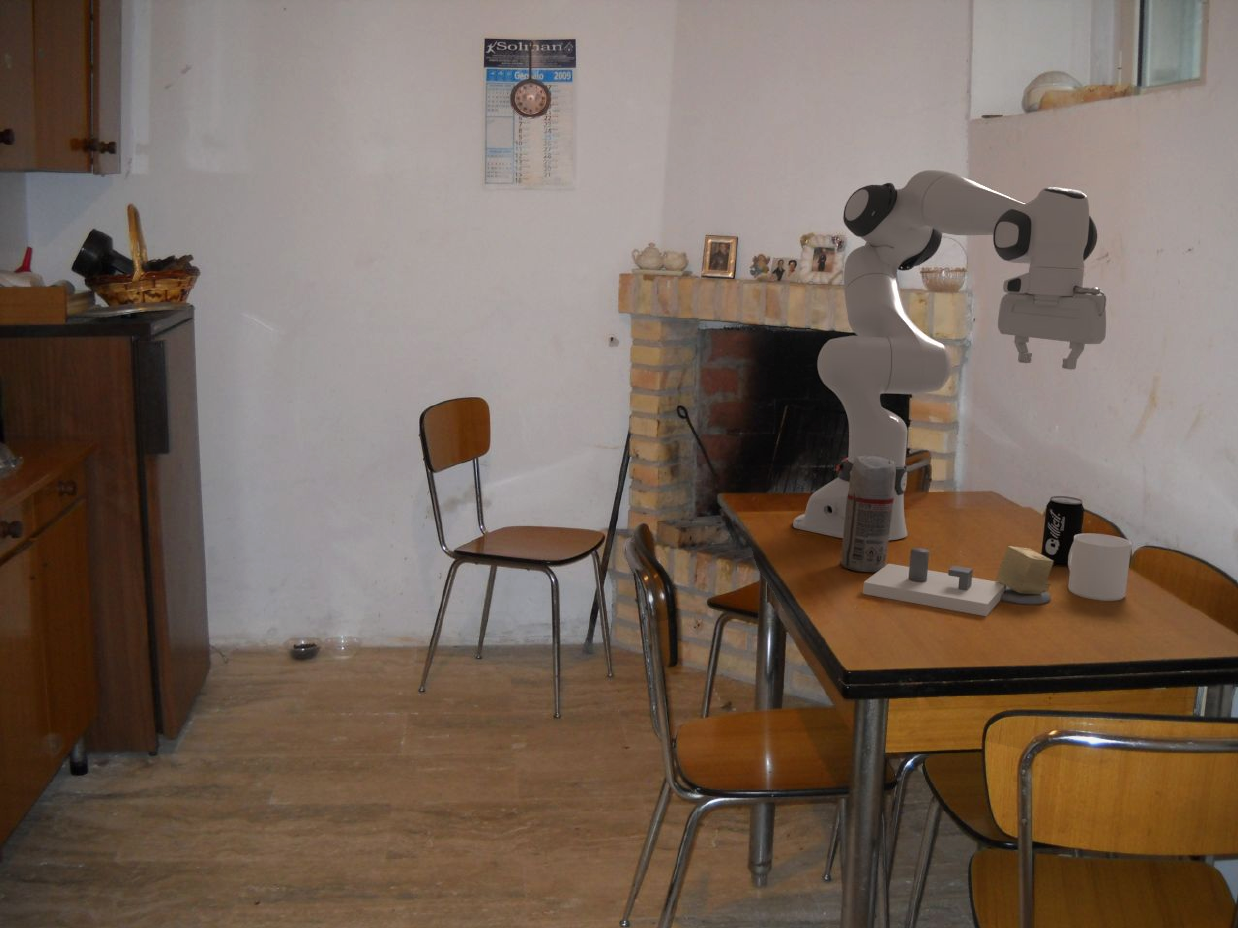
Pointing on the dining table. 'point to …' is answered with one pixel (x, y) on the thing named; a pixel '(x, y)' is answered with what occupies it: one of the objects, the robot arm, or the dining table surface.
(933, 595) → the base
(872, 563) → the spray can
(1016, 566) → the tan wooden block
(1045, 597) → the slate coaster
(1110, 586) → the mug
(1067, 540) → the beverage can
